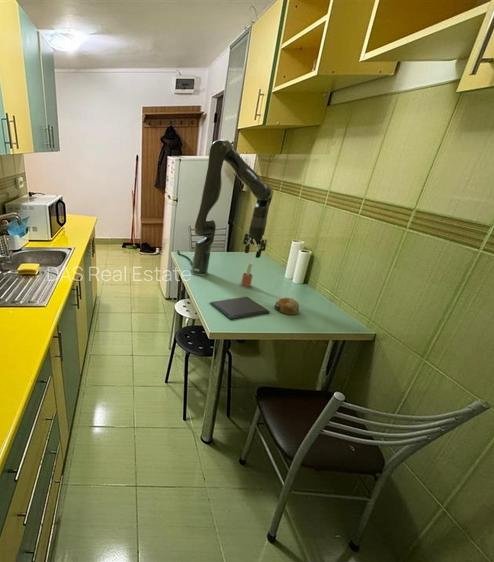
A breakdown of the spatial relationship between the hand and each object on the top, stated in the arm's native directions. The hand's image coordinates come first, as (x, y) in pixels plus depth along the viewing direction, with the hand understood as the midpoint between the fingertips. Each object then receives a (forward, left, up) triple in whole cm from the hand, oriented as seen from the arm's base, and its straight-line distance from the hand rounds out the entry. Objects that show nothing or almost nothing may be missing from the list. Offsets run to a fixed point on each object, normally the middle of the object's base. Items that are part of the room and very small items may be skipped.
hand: (251, 255), depth 164 cm
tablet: (+21, -21, -18) cm, 35 cm away
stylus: (0, 0, -18) cm, 18 cm away
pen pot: (0, 0, -18) cm, 18 cm away
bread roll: (+29, 0, -19) cm, 34 cm away
